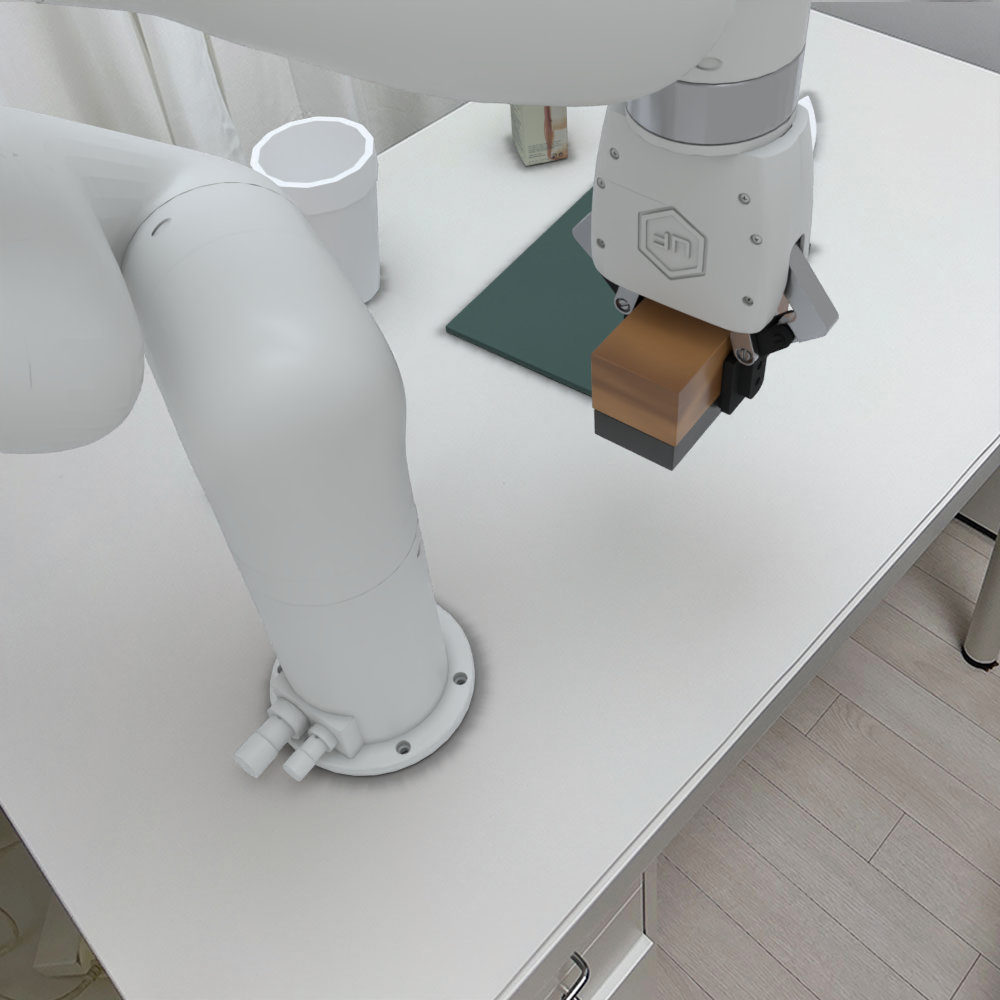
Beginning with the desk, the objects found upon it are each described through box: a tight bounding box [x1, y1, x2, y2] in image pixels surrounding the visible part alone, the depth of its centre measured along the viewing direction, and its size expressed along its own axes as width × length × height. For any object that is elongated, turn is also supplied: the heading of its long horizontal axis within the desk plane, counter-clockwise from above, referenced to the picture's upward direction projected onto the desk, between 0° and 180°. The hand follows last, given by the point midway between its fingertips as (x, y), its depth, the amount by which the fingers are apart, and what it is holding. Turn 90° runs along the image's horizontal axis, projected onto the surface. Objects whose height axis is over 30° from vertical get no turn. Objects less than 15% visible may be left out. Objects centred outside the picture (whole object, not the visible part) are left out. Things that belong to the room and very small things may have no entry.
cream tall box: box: [509, 104, 569, 167], centre depth 100 cm, size 5×4×10 cm
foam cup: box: [249, 115, 381, 304], centre depth 88 cm, size 10×9×13 cm
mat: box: [445, 186, 812, 397], centre depth 90 cm, size 24×20×1 cm
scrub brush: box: [591, 294, 790, 472], centre depth 60 cm, size 12×5×6 cm, turn 143°
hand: (691, 374), depth 62 cm, fingers closed on scrub brush, 5 cm apart
